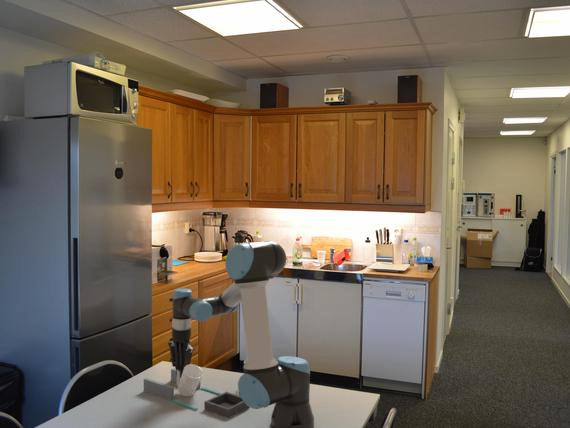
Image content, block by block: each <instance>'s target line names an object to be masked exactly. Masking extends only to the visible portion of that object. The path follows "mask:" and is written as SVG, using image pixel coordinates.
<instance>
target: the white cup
mask: <svg viewBox="0 0 570 428" xmlns="http://www.w3.org/2000/svg"><path fill="white" fill-rule="evenodd" d="M203 375H204V371H203V369H202V368H201V367H200V366H199V365H197V364H193V363H190V364H189V365H186V366H185V367H184V369H183V373H182V376H181V379H180V383H179V386H177V391H178V392H179V394H180V395H182V396H184V397H192V396H193V395H194V393H195V391H196V390H197V389H196V388H197V386H198V384H199V382H200V383H201V380H202V379H203Z"/></svg>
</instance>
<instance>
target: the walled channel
mask: <svg viewBox="0 0 570 428" xmlns="http://www.w3.org/2000/svg"><path fill="white" fill-rule="evenodd" d="M170 382H173V383H175V384H177V376H176V368H175V367H173V368H171V369H170ZM199 389H201V381H200V382H199V384H198V386H197V388H196V390H199ZM143 392H144V393H148V394H151V395H152V396H153V395H154V396H157V397H159V398H162V399H165V400H168V401H171V402H172V400H175V399H174V398H175V396H174V394H175V387H174V386H172V385H169V384H167V383H163V382H162V381H161V382H160V381H157V380H155V379H151V378H149V377H145V378H143Z"/></svg>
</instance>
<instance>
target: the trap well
mask: <svg viewBox="0 0 570 428" xmlns="http://www.w3.org/2000/svg"><path fill="white" fill-rule="evenodd" d="M221 393H222V392H221ZM203 403H204V404H203V405H204V407H203V408H204V410H205V411H207V412H211V413H213V414H216V415H219V416H222V417H224V418H228V419H230V418H231V417H233V416H235V415H237V414H239V413H241V412H243V411H244V410H247V409H249V408H250V407H249V406H248V405H246V404H245V402H244V401H243V400H242V398H241V396H240V395H239V394H235V393H231V392H228V391H225V392H223V393H222V394H220V395H218V394H217V395H215V396H213V397H211V398H210V399H207V400H205V401H204V402H203Z"/></svg>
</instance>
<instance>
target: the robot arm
mask: <svg viewBox="0 0 570 428" xmlns="http://www.w3.org/2000/svg"><path fill="white" fill-rule="evenodd" d="M286 264H287V254H286V252H285V249H284V248H283V247H282V246H281V245H280V244H279V243H277V242H275V241H271V240H265V241H253V242H243V243H237V244H235V245H233V246H232V247H231V248H230V249H229V251H228V252H227V254H226V258H225V271H226V273H227V275H228V277H229V278H230V279H233V280H234V281H233V282H232V284H230V286H228V287H227V288H226V289H225V290H223V292H222V293H220V294H219V295H215V296H209V297H203V298H196V297H193V291H192V289H190V288H177V289H175V290H174V291H173V293H172V294H173V295H172V318H171V320H172V321H171V327H172V328H171V337H172V340H171V341H169V342H168V343H167V345H168V347H169V352H170V358H171V359H170V360H171V366H172V367H173V368H174V369H176V376H177V383H176V387H178V386H179V383H180V379H181V376H182V373H183V369H184V367H185V366H186V365H189V364H191V362H192V357H193V352H194V351H195V347H192V346H191V340H190V339H191V337H192V320H194V321H198V322H202V323H203V322H206V321H208V320H209V319H210V318H211V317H216V316H220V315H225V314H226V315H228V314H232V313H234V312H236V311H238V309H239V306H240V303H241V311H242V313H241V314H242V320H243V321H242V322H243V331H244V340H245V350H246V360H247V363H246V364H245V365H244V364H243V374H242V375H241V376H240V377H239V378H238V382H237V389H238V393H239V396H241V398H242V400H243V401H244V402H245V404H246V405H248V406H249V408H250V409H254V410H259V409H262V408H267V407H269V406H271V405H274V404H275V405H274V408H273V410H272V414H271V416H270V425H271V427H272V428H314V426H315V416H314V414H313V411H312V407H311V404H310V389H311V388H310V384H311V383H310V382H311V369H310V363H309V361H308V360H307V359H304V358H301V357H297V356H290V355H288V356H287V355H286V356H285V355H283V356H279V357H277V358H276V359H275V358H274V355H273V353H274V352H273V346H272V344H273V343H272V335H271V326H270V319H269V317H270V315H269V309H268V301H267V292H266V290H267V288H266V286H267V284H268V283H269V281H270V280H273V279H274V278H275V277H277V276H278V275H279V274H281V272H282V271H283V270H284V269H285V266H286Z"/></svg>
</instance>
